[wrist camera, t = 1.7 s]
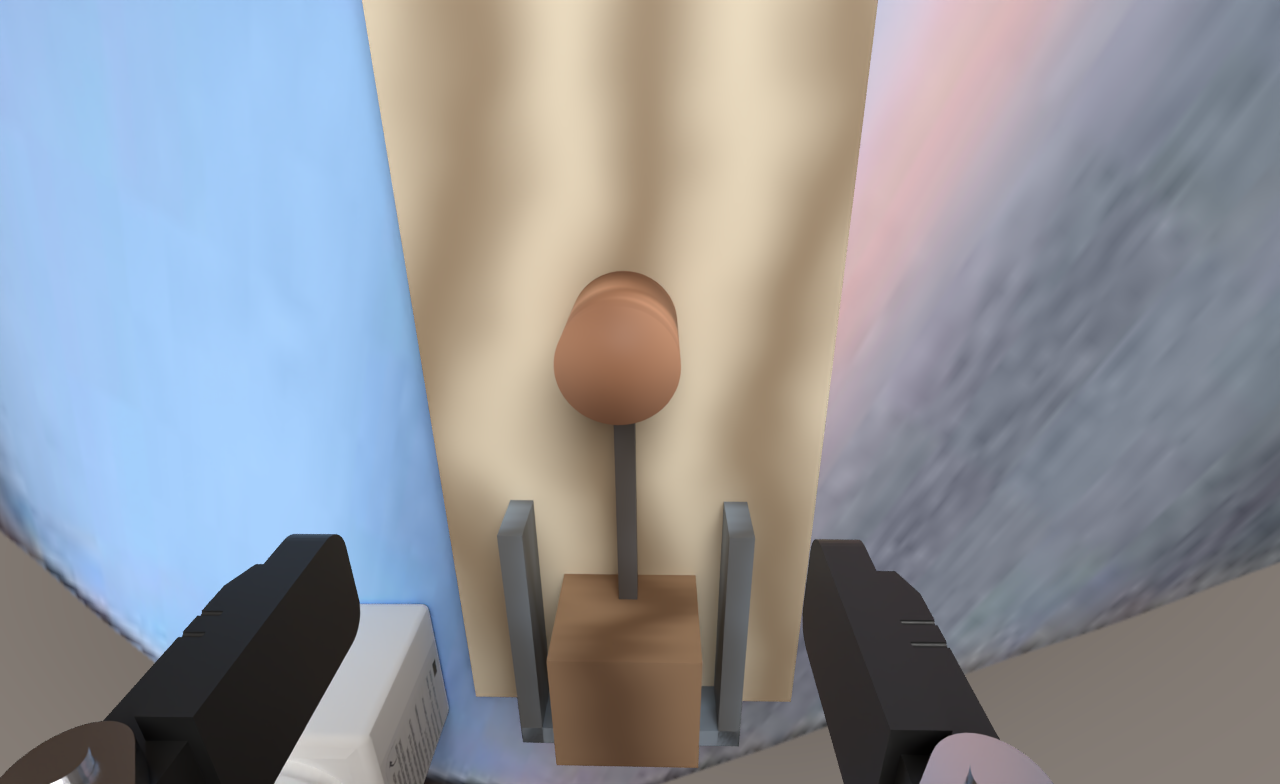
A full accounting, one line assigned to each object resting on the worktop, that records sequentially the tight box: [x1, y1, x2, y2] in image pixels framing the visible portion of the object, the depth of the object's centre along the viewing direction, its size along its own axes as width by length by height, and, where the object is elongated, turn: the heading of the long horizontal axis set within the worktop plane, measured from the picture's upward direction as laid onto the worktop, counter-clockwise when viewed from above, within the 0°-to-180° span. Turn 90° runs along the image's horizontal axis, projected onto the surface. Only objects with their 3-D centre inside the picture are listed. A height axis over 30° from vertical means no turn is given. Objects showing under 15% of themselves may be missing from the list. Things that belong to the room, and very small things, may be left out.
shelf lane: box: [362, 0, 878, 746], centre depth 24 cm, size 16×36×4 cm, turn 1°
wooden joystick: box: [547, 271, 702, 768], centre depth 25 cm, size 6×20×5 cm, turn 1°
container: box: [274, 604, 449, 784], centre depth 28 cm, size 8×8×13 cm
